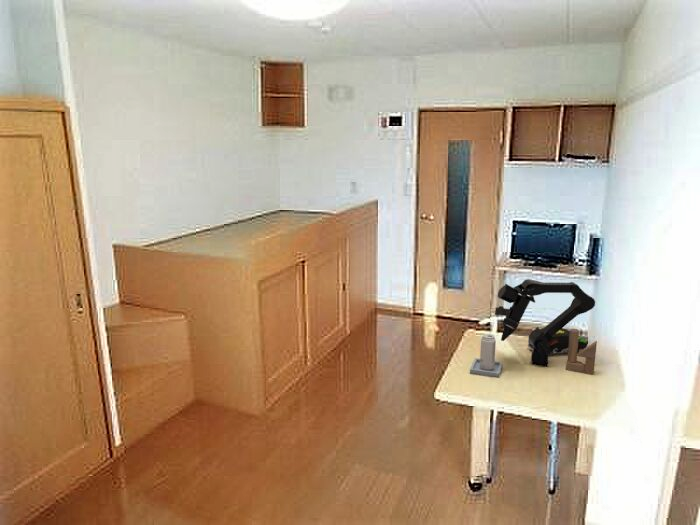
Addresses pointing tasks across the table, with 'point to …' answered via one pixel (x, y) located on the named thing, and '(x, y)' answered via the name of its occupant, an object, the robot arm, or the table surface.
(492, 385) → the table surface
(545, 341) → the robot arm
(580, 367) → the brown angular piece
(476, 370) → the tray
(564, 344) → the toy van
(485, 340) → the energy drink can
